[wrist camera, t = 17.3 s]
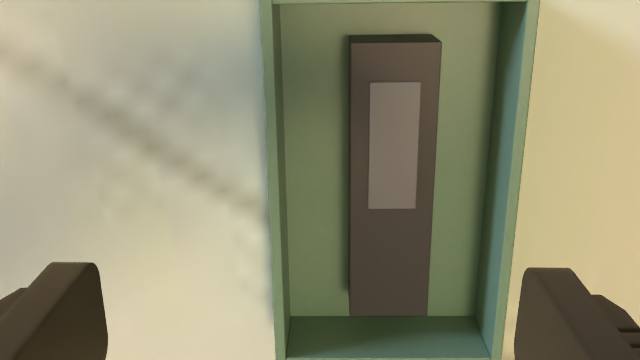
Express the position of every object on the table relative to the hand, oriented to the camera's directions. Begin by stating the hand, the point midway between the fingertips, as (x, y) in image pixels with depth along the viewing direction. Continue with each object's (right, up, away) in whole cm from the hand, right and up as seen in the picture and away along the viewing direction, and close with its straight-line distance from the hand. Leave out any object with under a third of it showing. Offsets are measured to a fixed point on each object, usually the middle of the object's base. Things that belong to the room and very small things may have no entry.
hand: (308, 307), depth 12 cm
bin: (+4, +3, +25) cm, 26 cm away
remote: (+4, +3, +25) cm, 25 cm away
